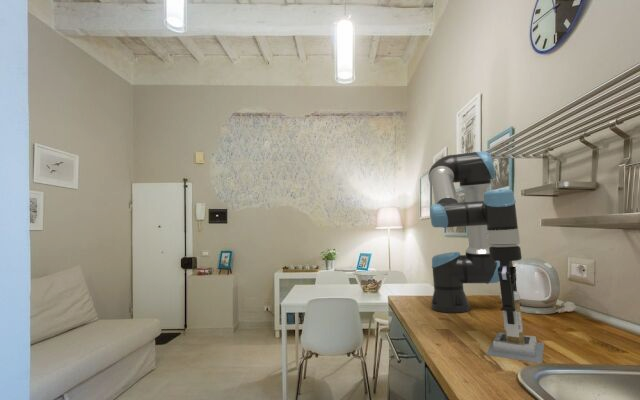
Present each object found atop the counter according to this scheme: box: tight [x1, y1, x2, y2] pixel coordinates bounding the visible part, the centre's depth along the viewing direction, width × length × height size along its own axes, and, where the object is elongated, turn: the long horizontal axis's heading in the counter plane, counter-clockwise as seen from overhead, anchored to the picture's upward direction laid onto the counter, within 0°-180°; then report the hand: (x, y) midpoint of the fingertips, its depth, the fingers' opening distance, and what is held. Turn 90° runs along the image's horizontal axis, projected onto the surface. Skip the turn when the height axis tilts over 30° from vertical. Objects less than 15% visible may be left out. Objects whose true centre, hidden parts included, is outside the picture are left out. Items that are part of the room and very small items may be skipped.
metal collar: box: [492, 331, 537, 357], centre depth 86 cm, size 9×9×2 cm
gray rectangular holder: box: [485, 341, 545, 365], centre depth 86 cm, size 16×12×1 cm
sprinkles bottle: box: [499, 290, 525, 344], centre depth 87 cm, size 5×5×13 cm
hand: (514, 333), depth 87 cm, fingers open, 4 cm apart
